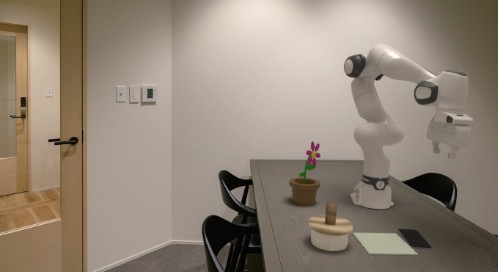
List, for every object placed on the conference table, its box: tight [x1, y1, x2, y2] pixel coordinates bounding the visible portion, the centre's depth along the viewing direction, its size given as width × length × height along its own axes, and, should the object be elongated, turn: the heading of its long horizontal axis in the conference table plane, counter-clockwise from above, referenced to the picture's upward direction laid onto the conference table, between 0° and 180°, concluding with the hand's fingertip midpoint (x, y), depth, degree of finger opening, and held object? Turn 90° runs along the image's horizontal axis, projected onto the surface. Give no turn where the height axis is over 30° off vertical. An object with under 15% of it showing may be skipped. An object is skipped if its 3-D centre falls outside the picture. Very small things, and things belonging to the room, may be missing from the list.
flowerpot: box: [288, 140, 322, 207], centre depth 157 cm, size 14×14×30 cm
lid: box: [307, 201, 354, 236], centre depth 115 cm, size 15×15×8 cm
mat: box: [352, 232, 419, 257], centre depth 117 cm, size 16×16×1 cm
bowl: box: [310, 228, 349, 252], centre depth 116 cm, size 12×12×6 cm
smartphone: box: [397, 228, 433, 250], centre depth 121 cm, size 7×1×15 cm
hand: (443, 155), depth 120 cm, fingers open, 8 cm apart
